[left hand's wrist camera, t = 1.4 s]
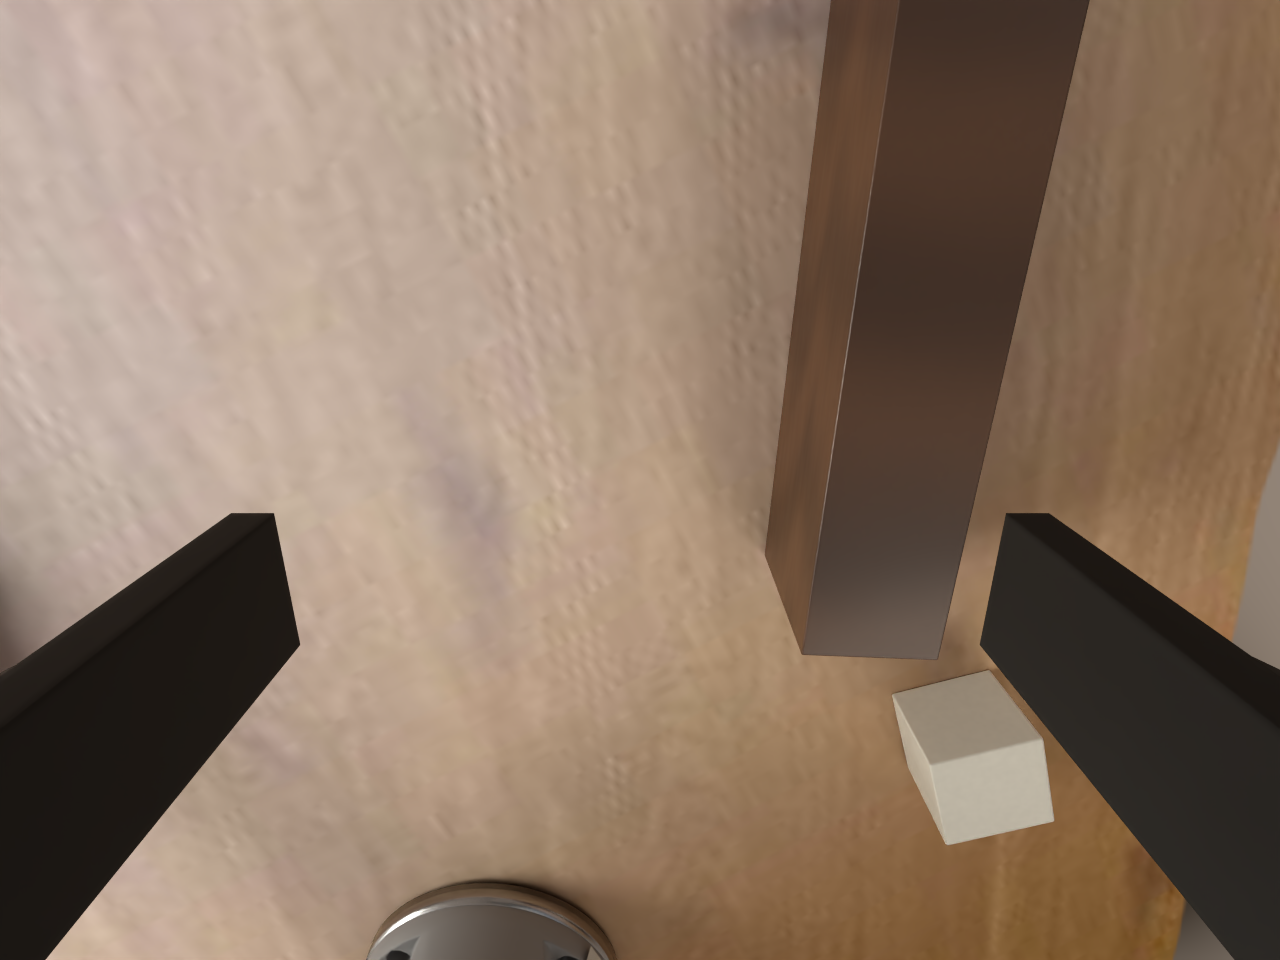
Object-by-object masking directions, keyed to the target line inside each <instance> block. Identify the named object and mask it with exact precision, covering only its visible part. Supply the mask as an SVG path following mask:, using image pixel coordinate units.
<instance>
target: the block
mask: <svg viewBox="0 0 1280 960" xmlns="http://www.w3.org/2000/svg"><path fill="white" fill-rule="evenodd" d="M892 698H893V703H894V707H895V712H896V716H897V720H898V725H899V729H900V734H901V738H902V743H903V747H904V751H905V756H906V760H907V765H908V768H909V770H910V772H911V774H912V776H913V778H914V780H915V782H916V784H917V787H918V789H919V791H920V793H921V795H922V797H923V799H924V801H925V803H926V805H927V807H928V809H929V811H930V813H931V815H932V817H933V819H934V821H935V823H936V825H937V827H938V829H939V831H940V833H941V835H942V837H943V840H944V842H945V844H946V845H951V844H956V843H960V842H965V841H969V840H974V839H978V838H983V837H987V836H991V835H996V834H1000V833H1005V832H1009V831H1014V830H1018V829H1023V828H1027V827H1032V826H1036V825H1040V824H1045V823H1049V822H1053V821H1054V814H1053V807H1052V800H1051V792H1050V785H1049V778H1048V770H1047V763H1046V756H1045V749H1044V741H1043V738H1042V737H1041V735H1040V734H1039V733H1038V731H1037V730H1036V729H1035V728H1034V726H1033V725H1032V724H1031V722H1030V721H1029V720H1028V719H1027V717H1026V716H1025V715H1024V713H1023V712H1022V711H1021V710H1020V708H1019V707H1018V706H1017V704H1016V703H1015V702H1014V701H1013V699H1012V698H1011V697H1010V695H1009V694H1008V693H1007V692H1006V690H1005V689H1004V688H1003V686H1002V685H1001V684H1000V683H999V681H998V680H997V679H996V677H995V676H994V675H993V674H992V672H991V671H990V670H986V671H982V672H978V673H974V674H970V675H966V676H962V677H958V678H954V679H950V680H946V681H942V682H938V683H934V684H930V685H926V686H922V687H918V688H914V689H910V690H906V691H902V692H898V693H894V694H892Z"/></svg>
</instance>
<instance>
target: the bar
mask: <svg viewBox="0 0 1280 960" xmlns="http://www.w3.org/2000/svg"><path fill="white" fill-rule="evenodd" d="M1088 5H1089V0H831V6H830V14H829V23H828V31H827V39H826V48H825V56H824V64H823V73H822V81H821V90H820V98H819V106H818V115H817V123H816V131H815V140H814V148H813V157H812V165H811V173H810V182H809V190H808V198H807V207H806V215H805V224H804V232H803V240H802V249H801V257H800V265H799V274H798V282H797V290H796V299H795V307H794V316H793V324H792V332H791V341H790V349H789V357H788V366H787V374H786V383H785V391H784V399H783V408H782V416H781V424H780V433H779V441H778V450H777V458H776V466H775V475H774V483H773V491H772V500H771V508H770V516H769V525H768V533H767V542H766V550H765V557H766V560H767V562H768V565H769V568H770V570H771V573H772V576H773V578H774V581H775V584H776V586H777V589H778V592H779V595H780V597H781V600H782V603H783V605H784V608H785V611H786V613H787V616H788V619H789V621H790V624H791V627H792V629H793V632H794V635H795V638H796V640H797V643H798V646H799V648H800V651H801V654H802V655H822V656H848V657H874V658H900V659H926V660H937V659H938V656H939V652H940V647H941V643H942V639H943V634H944V630H945V626H946V621H947V617H948V613H949V608H950V604H951V600H952V595H953V591H954V586H955V582H956V578H957V573H958V569H959V565H960V560H961V556H962V552H963V547H964V543H965V539H966V534H967V530H968V526H969V521H970V517H971V513H972V508H973V504H974V500H975V495H976V491H977V487H978V482H979V478H980V474H981V469H982V465H983V461H984V456H985V452H986V448H987V443H988V439H989V435H990V430H991V426H992V421H993V417H994V413H995V408H996V404H997V400H998V395H999V391H1000V387H1001V382H1002V378H1003V374H1004V369H1005V365H1006V361H1007V356H1008V352H1009V348H1010V343H1011V339H1012V335H1013V330H1014V326H1015V322H1016V317H1017V313H1018V309H1019V304H1020V300H1021V296H1022V291H1023V287H1024V283H1025V278H1026V274H1027V270H1028V265H1029V261H1030V256H1031V252H1032V248H1033V243H1034V239H1035V235H1036V230H1037V226H1038V222H1039V217H1040V213H1041V209H1042V204H1043V200H1044V196H1045V191H1046V187H1047V183H1048V178H1049V174H1050V170H1051V165H1052V161H1053V157H1054V152H1055V148H1056V144H1057V139H1058V135H1059V131H1060V126H1061V122H1062V118H1063V113H1064V109H1065V105H1066V100H1067V96H1068V91H1069V87H1070V83H1071V78H1072V74H1073V70H1074V65H1075V61H1076V57H1077V52H1078V48H1079V44H1080V39H1081V35H1082V31H1083V26H1084V22H1085V18H1086V13H1087V9H1088Z"/></svg>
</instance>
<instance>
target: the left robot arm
mask: <svg viewBox="0 0 1280 960" xmlns="http://www.w3.org/2000/svg"><path fill="white" fill-rule="evenodd" d="M299 646H300V641H299V636H298V631H297V626H296V621H295V616H294V611H293V606H292V601H291V596H290V591H289V586H288V581H287V576H286V571H285V566H284V561H283V556H282V551H281V546H280V541H279V536H278V531H277V526H276V521H275V516H274V513H231V514H229V515H228V516H227V517H225V518H224V519H222V520H221V521H220V522H218V523H217V524H215V525H214V526H212V527H211V528H210V529H208V530H207V531H205V532H204V533H203V534H201V535H200V536H198V537H197V538H195V539H194V540H193V541H191V542H190V543H188V544H187V545H186V546H184V547H183V548H181V549H180V550H178V551H177V552H176V553H174V554H173V555H171V556H170V557H169V558H167V559H166V560H164V561H163V562H161V563H160V564H159V565H157V566H156V567H154V568H153V569H152V570H150V571H149V572H147V573H146V574H144V575H143V576H142V577H140V578H139V579H137V580H136V581H135V582H133V583H132V584H130V585H129V586H127V587H126V588H125V589H123V590H122V591H120V592H119V593H118V594H116V595H115V596H113V597H112V598H110V599H109V600H108V601H106V602H105V603H103V604H102V605H101V606H99V607H98V608H96V609H95V610H93V611H92V612H91V613H89V614H88V615H86V616H85V617H84V618H82V619H81V620H79V621H78V622H76V623H75V624H74V625H72V626H71V627H69V628H68V629H67V630H65V631H64V632H62V633H61V634H59V635H58V636H57V637H55V638H54V639H52V640H51V641H50V642H48V643H47V644H45V645H44V646H42V647H41V648H40V649H38V650H37V651H35V652H34V653H32V654H31V655H30V656H28V657H27V658H25V659H24V660H23V661H21V662H20V663H18V664H17V665H15V666H13V667H11V668H9V669H7V670H5V671H3V672H1V673H0V960H46V958H47V957H48V956H49V955H50V953H51V952H52V951H53V950H54V948H55V947H56V946H57V945H58V944H59V942H60V941H61V940H62V939H63V937H64V936H65V935H66V934H67V932H68V931H69V930H70V929H71V927H72V926H73V925H74V924H75V923H76V921H77V920H78V919H79V918H80V916H81V915H82V914H83V913H84V911H85V910H86V909H87V908H88V906H89V905H90V904H91V903H92V901H93V900H94V899H95V898H96V897H97V895H98V894H99V893H100V892H101V890H102V889H103V888H104V887H105V885H106V884H107V883H108V882H109V880H110V879H111V878H112V877H113V876H114V874H115V873H116V872H117V871H118V869H119V868H120V867H121V866H122V864H123V863H124V862H125V861H126V859H127V858H128V857H129V856H130V855H131V853H132V852H133V851H134V850H135V848H136V847H137V846H138V845H139V843H140V842H141V841H142V840H143V838H144V837H145V836H146V835H147V834H148V832H149V831H150V830H151V829H152V827H153V826H154V825H155V824H156V822H157V821H158V820H159V819H160V817H161V816H162V815H163V814H164V813H165V811H166V810H167V809H168V808H169V806H170V805H171V804H172V803H173V801H174V800H175V799H176V798H177V796H178V795H179V794H180V793H181V791H182V790H183V789H184V788H185V787H186V785H187V784H188V783H189V782H190V780H191V779H192V778H193V777H194V775H195V774H196V773H197V772H198V770H199V769H200V768H201V767H202V766H203V764H204V763H205V762H206V761H207V759H208V758H209V757H210V756H211V754H212V753H213V752H214V751H215V749H216V748H217V747H218V746H219V745H220V743H221V742H222V741H223V740H224V738H225V737H226V736H227V735H228V733H229V732H230V731H231V730H232V728H233V727H234V726H235V725H236V724H237V722H238V721H239V720H240V719H241V717H242V716H243V715H244V714H245V712H246V711H247V710H248V709H249V707H250V706H251V705H252V704H253V703H254V701H255V700H256V699H257V698H258V696H259V695H260V694H261V693H262V691H263V690H264V689H265V688H266V686H267V685H268V684H269V683H270V681H271V680H272V679H273V678H274V677H275V675H276V674H277V673H278V672H279V670H280V669H281V668H282V667H283V665H284V664H285V663H286V662H287V660H288V659H289V658H290V657H291V656H292V654H293V653H294V652H295V651H296V649H297V648H298V647H299ZM980 646H981V647H982V648H983V649H984V651H985V652H986V653H987V654H988V656H989V657H990V658H991V659H992V660H993V662H994V663H995V664H996V665H997V667H998V668H999V669H1000V670H1001V672H1002V673H1003V674H1004V675H1005V677H1006V678H1007V679H1008V680H1009V681H1010V683H1011V684H1012V685H1013V686H1014V688H1015V689H1016V690H1017V691H1018V693H1019V694H1020V695H1021V696H1022V698H1023V699H1024V700H1025V701H1026V702H1027V704H1028V705H1029V706H1030V707H1031V709H1032V710H1033V711H1034V712H1035V714H1036V715H1037V716H1038V717H1039V719H1040V720H1041V721H1042V722H1043V724H1044V725H1045V726H1046V727H1047V728H1048V730H1049V731H1050V732H1051V733H1052V735H1053V736H1054V737H1055V738H1056V740H1057V741H1058V742H1059V743H1060V745H1061V746H1062V747H1063V748H1064V749H1065V751H1066V752H1067V753H1068V754H1069V756H1070V757H1071V758H1072V759H1073V761H1074V762H1075V763H1076V764H1077V766H1078V767H1079V768H1080V769H1081V770H1082V772H1083V773H1084V774H1085V775H1086V777H1087V778H1088V779H1089V780H1090V782H1091V783H1092V784H1093V785H1094V787H1095V788H1096V789H1097V790H1098V791H1099V793H1100V794H1101V795H1102V796H1103V798H1104V799H1105V800H1106V801H1107V803H1108V804H1109V805H1110V806H1111V808H1112V809H1113V810H1114V811H1115V813H1116V814H1117V815H1118V816H1119V817H1120V819H1121V820H1122V821H1123V822H1124V824H1125V825H1126V826H1127V827H1128V829H1129V830H1130V831H1131V832H1132V834H1133V835H1134V836H1135V837H1136V838H1137V840H1138V841H1139V842H1140V843H1141V845H1142V846H1143V847H1144V848H1145V850H1146V851H1147V852H1148V853H1149V855H1150V856H1151V857H1152V858H1153V859H1154V861H1155V862H1156V863H1157V864H1158V866H1159V867H1160V868H1161V869H1162V871H1163V872H1164V873H1165V874H1166V876H1167V877H1168V878H1169V879H1170V880H1171V882H1172V883H1173V884H1174V885H1175V887H1176V888H1177V889H1178V890H1179V892H1180V893H1181V894H1182V895H1183V897H1184V898H1185V899H1186V900H1187V901H1188V903H1189V904H1190V905H1191V906H1192V908H1193V909H1194V910H1195V911H1196V913H1197V914H1198V915H1199V916H1200V918H1201V919H1202V920H1203V921H1204V923H1205V924H1206V925H1207V926H1208V927H1209V929H1210V930H1211V931H1212V932H1213V934H1214V935H1215V936H1216V937H1217V939H1218V940H1219V941H1220V942H1221V944H1222V945H1223V946H1224V947H1225V948H1226V950H1227V951H1228V952H1229V953H1230V955H1231V956H1232V957H1233V958H1234V960H1280V670H1279V669H1277V668H1275V667H1273V666H1271V665H1269V664H1267V663H1265V662H1263V661H1260V660H1258V659H1256V658H1254V657H1252V656H1250V655H1249V654H1248V653H1246V652H1245V651H1243V650H1242V649H1240V648H1239V647H1238V646H1236V645H1235V644H1233V643H1232V642H1231V641H1229V640H1228V639H1226V638H1225V637H1223V636H1222V635H1221V634H1219V633H1218V632H1216V631H1215V630H1213V629H1212V628H1211V627H1209V626H1208V625H1206V624H1205V623H1204V622H1202V621H1201V620H1199V619H1198V618H1196V617H1195V616H1194V615H1192V614H1191V613H1189V612H1188V611H1187V610H1185V609H1184V608H1182V607H1181V606H1179V605H1178V604H1177V603H1175V602H1174V601H1172V600H1171V599H1170V598H1168V597H1167V596H1165V595H1164V594H1162V593H1161V592H1160V591H1158V590H1157V589H1155V588H1154V587H1153V586H1151V585H1150V584H1148V583H1147V582H1145V581H1144V580H1143V579H1141V578H1140V577H1138V576H1137V575H1136V574H1134V573H1133V572H1131V571H1130V570H1128V569H1127V568H1126V567H1124V566H1123V565H1121V564H1120V563H1119V562H1117V561H1116V560H1114V559H1113V558H1111V557H1110V556H1109V555H1107V554H1106V553H1104V552H1103V551H1102V550H1100V549H1099V548H1097V547H1096V546H1094V545H1093V544H1092V543H1090V542H1089V541H1087V540H1086V539H1085V538H1083V537H1082V536H1080V535H1079V534H1077V533H1076V532H1075V531H1073V530H1072V529H1070V528H1069V527H1068V526H1066V525H1065V524H1063V523H1062V522H1060V521H1059V520H1058V519H1056V518H1055V517H1053V516H1052V515H1051V514H1049V513H1006V516H1005V521H1004V526H1003V531H1002V536H1001V541H1000V546H999V551H998V556H997V561H996V566H995V571H994V576H993V581H992V586H991V591H990V596H989V601H988V606H987V611H986V616H985V621H984V626H983V631H982V636H981V641H980ZM366 960H617V958H616V955H615V952H614V950H613V948H612V946H611V944H610V942H609V940H608V939H607V937H606V936H605V935H604V933H603V932H602V931H601V929H600V928H599V927H598V926H597V925H596V924H595V923H594V922H593V921H592V920H591V919H589V918H588V917H587V916H586V915H585V914H583V913H582V912H580V911H579V910H578V909H576V908H575V907H573V906H571V905H569V904H568V903H566V902H564V901H562V900H560V899H558V898H556V897H553V896H551V895H548V894H545V893H543V892H540V891H536V890H533V889H529V888H525V887H520V886H515V885H508V884H498V883H471V884H461V885H455V886H450V887H445V888H441V889H438V890H435V891H431V892H428V893H426V894H424V895H421V896H419V897H417V898H415V899H413V900H411V901H409V902H408V903H406V904H404V905H403V906H401V907H400V908H399V909H397V910H396V911H395V912H394V913H393V914H391V915H390V917H389V918H388V919H387V920H386V921H385V922H384V923H383V924H382V926H381V927H380V929H379V930H378V932H377V934H376V936H375V938H374V940H373V943H372V945H371V948H370V951H369V953H368V956H367V959H366Z"/></svg>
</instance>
